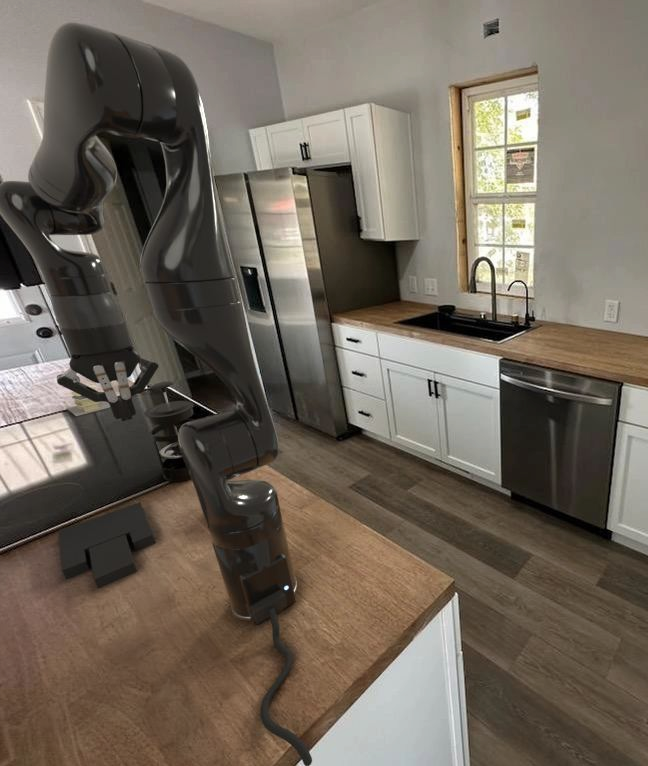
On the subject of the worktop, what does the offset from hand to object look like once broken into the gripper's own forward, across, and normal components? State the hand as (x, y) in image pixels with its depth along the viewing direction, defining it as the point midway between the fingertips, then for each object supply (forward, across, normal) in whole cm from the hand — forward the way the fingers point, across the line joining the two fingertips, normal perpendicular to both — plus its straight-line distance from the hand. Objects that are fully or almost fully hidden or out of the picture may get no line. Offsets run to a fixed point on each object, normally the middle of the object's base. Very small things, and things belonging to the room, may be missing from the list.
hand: (126, 418), depth 72 cm
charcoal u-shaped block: (+25, -8, +5) cm, 27 cm away
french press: (+25, +8, +22) cm, 34 cm away
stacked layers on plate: (+25, -5, +87) cm, 91 cm away
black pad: (+25, -8, -3) cm, 26 cm away
